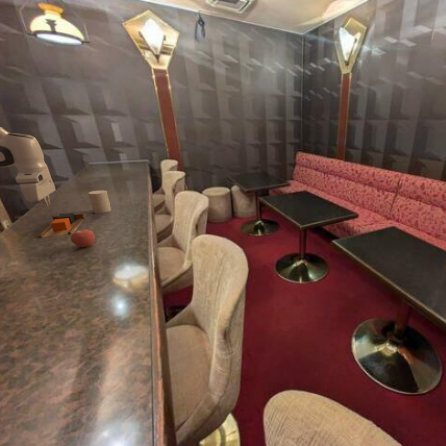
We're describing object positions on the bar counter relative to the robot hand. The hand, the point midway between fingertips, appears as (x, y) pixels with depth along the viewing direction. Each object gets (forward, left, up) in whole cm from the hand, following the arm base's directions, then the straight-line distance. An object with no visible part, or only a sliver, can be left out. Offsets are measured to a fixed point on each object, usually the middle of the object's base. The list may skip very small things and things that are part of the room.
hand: (46, 206), depth 108 cm
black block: (0, +16, -14) cm, 21 cm away
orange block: (0, +8, -14) cm, 16 cm away
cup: (+12, +33, -15) cm, 38 cm away
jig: (0, +10, -14) cm, 17 cm away
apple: (+14, -17, -15) cm, 27 cm away
